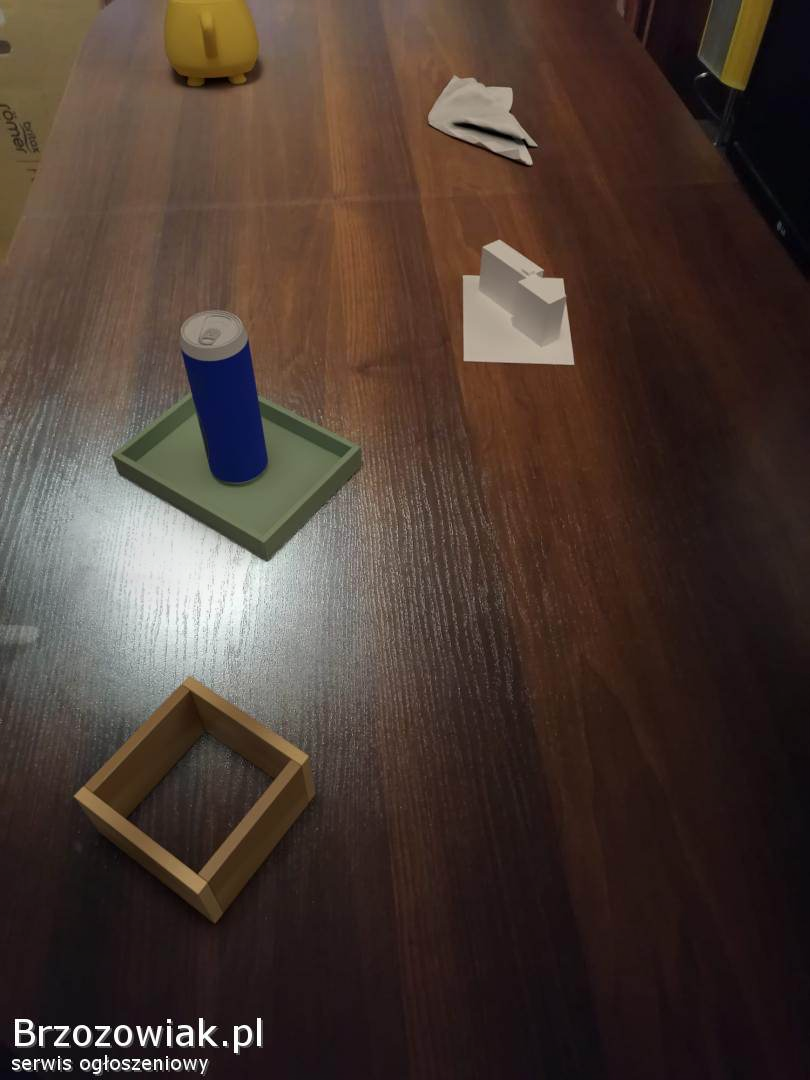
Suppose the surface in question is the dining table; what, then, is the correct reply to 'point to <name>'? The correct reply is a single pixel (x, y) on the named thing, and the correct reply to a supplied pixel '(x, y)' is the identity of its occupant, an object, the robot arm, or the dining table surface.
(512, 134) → the cloth
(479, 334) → the napkin holder
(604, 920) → the dining table surface
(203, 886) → the square frame
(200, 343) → the beverage can
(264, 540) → the tray
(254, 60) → the teapot
